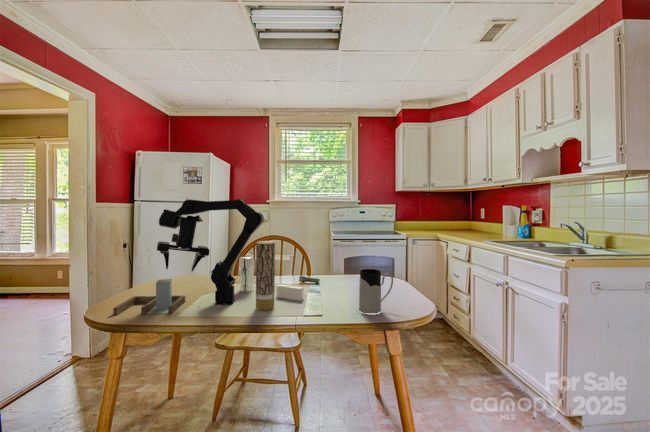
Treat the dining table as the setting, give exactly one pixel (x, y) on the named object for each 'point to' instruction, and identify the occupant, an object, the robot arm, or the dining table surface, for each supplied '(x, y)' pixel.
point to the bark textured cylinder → (265, 275)
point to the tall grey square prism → (163, 294)
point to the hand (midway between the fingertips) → (179, 270)
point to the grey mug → (371, 290)
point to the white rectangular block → (290, 292)
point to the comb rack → (150, 305)
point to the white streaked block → (246, 273)
